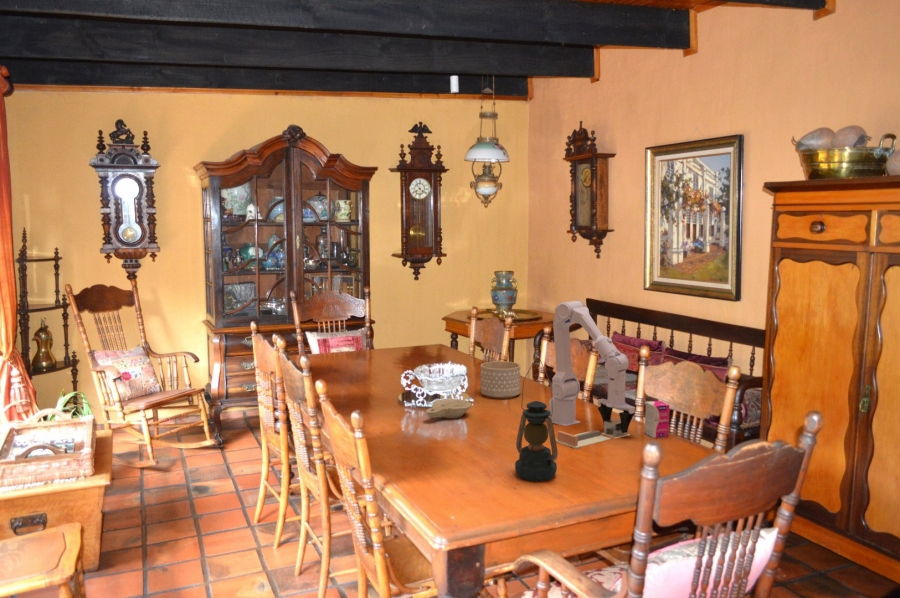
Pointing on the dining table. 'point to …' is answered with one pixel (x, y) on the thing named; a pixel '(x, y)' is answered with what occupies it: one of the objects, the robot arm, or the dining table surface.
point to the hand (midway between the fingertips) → (615, 429)
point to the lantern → (536, 442)
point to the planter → (500, 379)
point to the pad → (615, 437)
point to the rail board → (580, 439)
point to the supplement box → (656, 419)
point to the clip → (613, 427)
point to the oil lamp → (448, 408)
